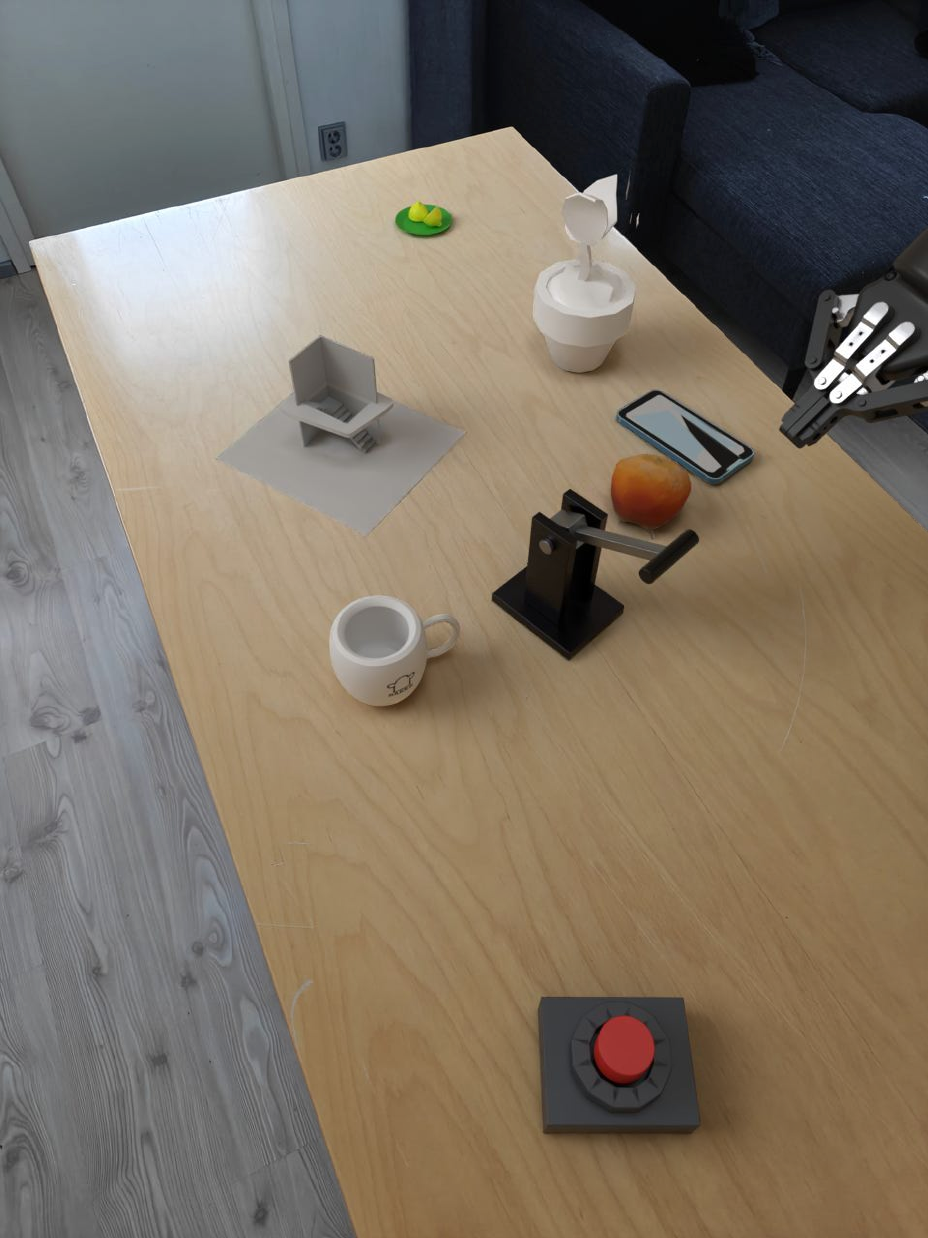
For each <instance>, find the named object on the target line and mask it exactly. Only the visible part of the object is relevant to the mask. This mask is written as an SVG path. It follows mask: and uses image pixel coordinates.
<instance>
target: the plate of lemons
mask: <svg viewBox="0 0 928 1238" xmlns="http://www.w3.org/2000/svg"><path fill="white" fill-rule="evenodd" d="M394 220H395V224H396V226H397V227H398V228H399V229H400V230H402V231H404V232H405V233H409V234H412V235H417V236H428V235H435V234H438V233H441V232H443V231H445V230H447V229H448V228H449V227H450V226H451V224H452V222H453V217H452V215H451V214H450V211H448V210H446V209H445V208H443V207H441V206H438V205H433V204H426V203H425V204H424V203H422V202H421V201H420V200H417V201H416V202H415V203H413V204H412V205H410V206H407V207H405V208H403V209H400V211H399V212H398V213H397V214H396V215H395V218H394Z"/></svg>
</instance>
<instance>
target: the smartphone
mask: <svg viewBox="0 0 928 1238" xmlns="http://www.w3.org/2000/svg"><path fill="white" fill-rule="evenodd" d="M615 418H616V421H617V422H618V423H619V424H621V425H622V426H624V427H625V428H627V429H628V430H630V431H632V432H633V433H634V434H636V435H637V436H639V437H640V438H642V439H643V440H645V441H646V442H648V443H649V444H651V445H652V446H653V447H655V448H656V449H658V450H660V451H661V452H662V453H664V455H667V456H668V457H669V458H671V459H672V460H674V461H675V462H677V463H679V464H680V465H681V466H682V467H684V468H686V469H687V470H689V471H690V472H692V473H693V474H695V475H696V476H698V477H699V478H701V479H702V480H704V481H705V482H706V483H709V484H713V485H714V484H715V485H716V484H720V483H721V482H723V481H724V480H726V479H728V478H729V477H731V476H732V475H733V474H734V473H736V472H738V471H739V470H740V469H741V468H743V467H744V466H746V465H747V464H749V463H750V462H751V461H753V459H754V457H755V454H756V453H755V450H754V449H753V447H751V446H749V445H748V444H747V443H745V442H744V441H742V440H740V439H738V437H735V436H734V435H732V434H731V433H729V432H728V431H727V430H725V429H723V428H721V427H720V426H718V425H716V424H715V423H714V422H712V421H710V420H709V419H707V418H706V417H704V416H703V415H701V414H699V413H698V412H696V411H695V410H693V409H691V408H690V407H688V406H687V405H685V404H683V402H680V401H679V400H677V399H676V398H674V397H672V396H671V395H669V394H668V393H666V392H665V391H663V390H661V389H656V388H655V389H651V390H649V391H647V392H646V393H644V394H643V395H641V396H639V397H637V398H635V399H634V400H632V401H630V402H629V403H627V404H626V405H624V406H623V407H621V408H619V409H618V410H617V412H616V417H615Z"/></svg>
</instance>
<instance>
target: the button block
mask: <svg viewBox="0 0 928 1238" xmlns="http://www.w3.org/2000/svg"><path fill="white" fill-rule="evenodd" d="M617 1016H631V1017H634V1018H636V1019H638V1020H639V1021H641V1022H642V1023H643V1024H644V1025H645V1026H646V1027H647V1028H648V1029H649V1031H650V1033H651V1034H652V1037H653V1040H654V1045H655V1054H654V1058H653V1061H652V1063H651V1064H650V1066H649V1067H648V1069H647V1070H646V1071H645V1073H644V1074H643V1075H642V1076H641V1077H640V1078H639V1079H638V1080H636V1081H634V1082H632V1083H627V1084H621V1083H616V1082H614V1081H612V1080H610V1079H608V1078H607V1077H606V1076H605V1075H603V1073H602V1072H601V1071H600V1069H599V1068H598V1066H597V1064H596V1061H595V1057H594V1045H595V1042H596V1039H597V1037H598V1035H599V1033H600V1031H601V1029H602V1027H603V1026H604V1025H605V1023H606V1022H607V1021H609V1020H610V1019H612V1018H614V1017H617ZM537 1019H538V1020H537V1021H538V1045H539V1047H538V1048H539V1069H540V1090H541V1091H540V1093H541V1112H542V1113H541V1115H542V1133H543V1134H615V1135H617V1134H618V1135H619V1134H620V1135H621V1134H625V1135H626V1134H627V1135H628V1134H630V1135H631V1134H633V1135H635V1134H639V1135H645V1134H646V1135H647V1134H649V1135H653V1134H655V1135H658V1134H659V1135H670V1134H671V1135H676V1134H677V1135H688V1134H689V1135H690V1134H692V1133H694V1132H695V1131H696V1130H697V1129H698V1128H700V1127H701V1126H702V1125H701V1124H702V1123H701V1116H700V1109H699V1102H698V1095H697V1087H696V1081H695V1072H694V1065H693V1064H694V1063H693V1058H692V1057H693V1056H692V1050H691V1049H692V1048H691V1043H690V1042H691V1041H690V1035H689V1028H688V1020H687V1014H686V1005H685V999H684V997H674V996H673V997H672V996H671V997H663V996H661V997H660V996H658V997H657V996H656V997H655V996H654V997H653V996H646V997H645V996H619V997H618V996H541V997H540V1001H539V1004H538V1008H537Z"/></svg>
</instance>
